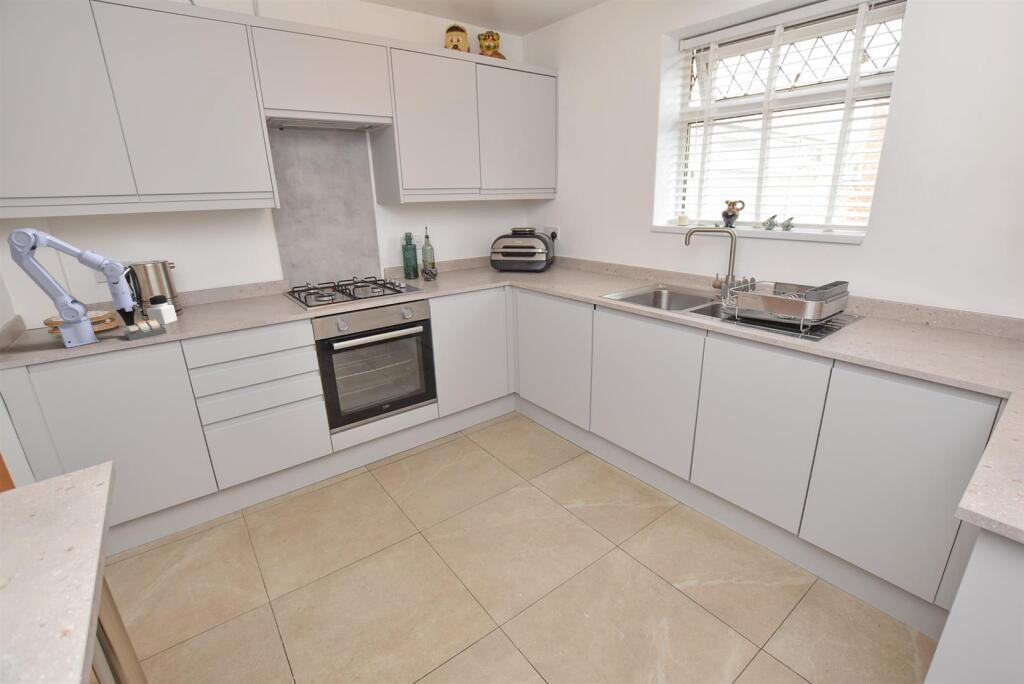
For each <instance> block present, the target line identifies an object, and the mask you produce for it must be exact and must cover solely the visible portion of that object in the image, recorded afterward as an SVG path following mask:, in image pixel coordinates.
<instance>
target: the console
mask: <svg viewBox="0 0 1024 684" xmlns="http://www.w3.org/2000/svg"><path fill="white" fill-rule="evenodd" d="M148 326H149V328H150V329H149V330H144V331H142V330H141V329H140V328H139V327H138V329H139V330H135V331H129V330H128V329H127V330H123V331H122V332H123V335H124V337H125V338H126V339H127V340H128V341H134V340H135V341H136V340H139V339H144V338H149V337H154V336H158V335H163V334H168V333H167V329H166V327H164V325H163V326H162V325H160V327H159V328H154V329H152V328H151V326H150V325H148Z"/></svg>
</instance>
